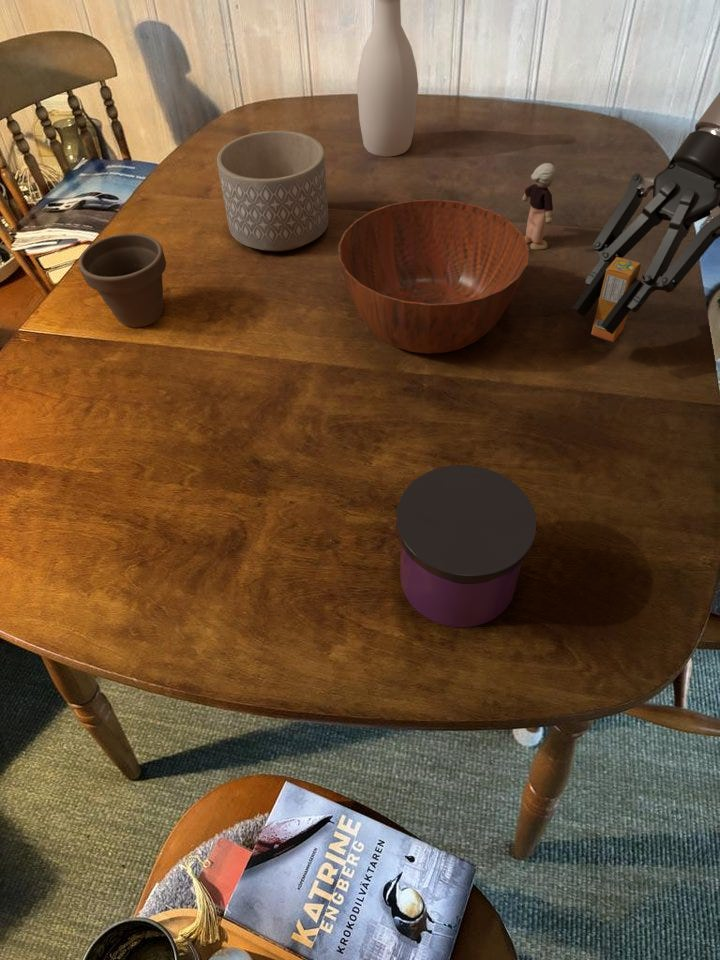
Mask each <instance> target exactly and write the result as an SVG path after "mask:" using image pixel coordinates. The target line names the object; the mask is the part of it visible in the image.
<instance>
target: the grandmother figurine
mask: <svg viewBox="0 0 720 960" xmlns="http://www.w3.org/2000/svg"><path fill="white" fill-rule="evenodd" d="M555 173H556V168H555V166H554V165H553V164H552V163H550V162H546V163H545V162H544V163H542V164H540V165H539V166H537V167H536V168H535V170H533V173H532V174H531V175H530V179H531V180H532V181H535V183H533V184H531V185H529V186H528V187H526V188H525V189H524V193H523V196H522V201H523V202H525V203H526V202H528V201H529V205H530V209H529V212H528V218H527V223H526V229H525V235H524V237H525V240H526V242H527V244H530V245H529V247H530V249H531V250H535V251H537V250H546V249H547V248H548V242H547V241H546V240H544V237H545V235H546V224H551V223H552V222H553V210H554V205H553V193H551V191H550V190H549V187H550V186H551V185H552V184H553V182H554V176H555Z"/></svg>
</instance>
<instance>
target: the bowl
mask: <svg viewBox="0 0 720 960" xmlns="http://www.w3.org/2000/svg"><path fill="white" fill-rule="evenodd" d="M524 236H525V235H524V234H523V233H522V232H521V231H520V230H519V229H518V227H517V226H516V225H515V224H514V223H513V222H511V221H510V220H508V219H507V218H505V217H503V216H502V215H500V214H499V213H497V212H494V211H492V210H489V209H488V208H485V207H482V206H479V205H475V204H471V203H467V202H463V201H457V200H448V199H435V198H434V199H433V198H432V199H413V200H412V199H411V200H406V201H402V202H396V203H390V204H387V205H385V206H382V207H379V208H376V209H374V210H371V211H369V212H367V213H365V214H364V215H363V216H361V217H359V218H358V219H355V220H354V221H353V222H352V223H351V224H350V225H349V227H347V228H346V230H345V231H343V233H342V236H341V238H340V240H339V243H338V245H337V247H338V250H337V251H338V262H339V266H340V269H341V273H342V276H343V279H344V282H345V285H346V288H347V291H348V293H349V295H350V298H351V300H352V302H353V303H354V306H355V308H356V309H357V311H358V313H359V315H360V317H361V319H362V320H363V322H364V323H365V325H366V326H367V327H368V328H369V329H370V330H371V331H372V332H373V333H374V334H375V335H376V336H377V337H378V338H379V339H381V340H382V341H384V342H385V343H388V344H389V345H391V346H393V347H395V348H398V349H400V350H405V351H407V352H410V353H417V354H426V355H431V354H432V355H433V354H446V353H449V352H454V351H458V350H461V349H464V348H465V347H468V346H470V345H472V344H474V343H476V342H478V341H479V340H480V339H481V338H482V337H483V336H486V334H487V333H488V332H490V331H491V330H492V329H493V328H494V327H495V325H496V324H497V323H498V321H499V320H500V319H501V317H502V316H503V314H504V312H505V311H506V310H507V307H508V306H509V304H510V303H511V301H512V300H513V298H514V296H515V294H516V292H517V290H518V288H519V285H520V283H521V282H522V279H523V277H524V274H525V272H526V270H527V267H528V263H529V257H530V256H529V255H530V248H529V246H528V243H527V242H526V240H525V237H524Z"/></svg>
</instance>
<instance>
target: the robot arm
mask: <svg viewBox="0 0 720 960" xmlns="http://www.w3.org/2000/svg"><path fill="white" fill-rule="evenodd" d="M651 191H652V199H650V200H649V202H648V203H647V204H646V205H644V206H643V209H642V211H641V213H640V214H639V215H638V216H637V217H636V218H635V219H634V220H633V221H631V219H632V218H633V216H634V215H635V213H636V212H637V210H638V209H639V207H640V206H641V204H642V201H643V199H644V198H647V197H648V195H649V193H650V192H651ZM705 218H707V219H705ZM703 219H705V224H704V225H703V226H702V227H701V228H700V229H699V230H698V232H696V233H695V235H694V236H693V238H692V239H691V240H690V241H689V243H688V244H687V245H686V246H685V247H684V248H683V250H682V251H681V252H680V253H679V255H677V257H676V258H675V259H674V257H675V255H676V253H677V251H678V249H679V248H680V245H681V244H682V241H683V239H685V238H686V237H687V236H688V234H689V232H690V230H691V228H692V226H693V224H694V223H696V222H698V221H701V220H703ZM630 221H631V223H630V224H629V222H630ZM663 221H668V222H669V225H668V228H667V230H666V232H665V234H664V237H663V239H662V240H661V243H660V244H659V246H658V248H657V250H656V252H655V254H654V256H653V258H652V260H651V261H650V263H649V266H648V267H647V269H646V271H645V273H644V275H643V274H641V276H640V278H641V280H640V279H638V278H637V279H636V278H635V279H634V280H633V282H632V283H631V285H630V286H629V287H628V289H627V290H626V291H625V293H624V294H623V295H622V297H621V298H620V299H619V301H618V302H617V303H616V305H615V306H614V308H613V309H612V310H611V312H610V313H609V314H608V316H607V317H606V318H605V320H604V321H603V322H602V324H601V326H602V327H603V328H604V329H605V330H606V331H608V332H609V333H611V334H613V333H614V331H615V330H616V329H617V327H618V326H619V325H620V323H621V322H622V321H623V319H624V318H625V317H626V315H627V316H628V315H629V313H630V311H631V312H632V313H634V314H635V313H637V312H639V311H640V310H641V308H642V306H644V304H645V302H646V301H647V300H648V299H649V297H650V296H651V295H652V294H653V292H655V291H665V292H666V293H671V292H673V291H675V289H677V287H678V285H679V284H680V283H681V282H682V281H683V280H684V278H685V277H686V276H687V274H688V273H689V272H690V271H691V270H692V268H693V267H694V266H695V265H696V264H697V262H698V261H699V260H700V259H701V258H702V256H703V255H704V254H705V253H706V252H707V250H708V249H709V248H710V247H711V246H712V244H713V243H715V241H716V240H718V239H719V238H720V91H719V92H718V94H717V95H716V97H714V99H713V100H712V102H711V103H710V105H709V106H708V107H707V108H706V110H705V111H704V113H703V114H702V116H701V117H700V118H699V120H698V121H697V122H696V123H695V125H694V131H692V132H689V133H688V135H687V136H686V138H685V139H684V141H683V142H682V143H681V145H680V146H679V148H678V149H677V150H676V151H675V152H674V154H673V156H672V157H671V159H670V162H669V163H668V165H667V166H666V167H665V168H664V169H662V171H660V172H659V173H657V174H656V176H652V177H651V176H648V177H645V176H643V177H642V175H641V174H640V173H637V172H636V173H633V175H632V176H631V177H630V180H629V183H628V187H627V191H626V192H625V194H624V196H623V197H622V199H621V200H620V202H619V204H618V205H617V207H616V208H615V210H614V211H613V213H612V214H611V216H610V217H609V219H608V221H607V222H606V224H605V225H603V227H602V229H601V231H600V232H599V234H598V235H597V237H596V238H595V240H594V242H593V244H592V248H593V249H594V250H595V252H596V253H597V254H598V257H599V259H598V261H597V263H596V264H595V265H594V267H593V268H592V270H591V271H590V273H589V274H588V275H587V276H586V278H585V282H584V283H585V284H586V286H587V287H586V288H585V289H584V291H583V292H582V294H581V295H580V296H579V298H578V299H577V301H576V302H575V303H574V305H573V307H572V309H573V310H574V311H575V312H576V313H577V314H578V315H579V316H581V317H583V318H585V317H586V316H587V315H588V313H589V312H590V310H591V309H592V307H593V306H594V305H595V303H596V302H597V300H599V298H600V294H601V290H602V286H603V281H604V277H605V273H606V269H607V268H608V267H609V265H610V264H611V263H612V262H613V261H614V260H615V258H616V257H620V258H624V257H625V256H626V255H627V254H628V253H629V252H630V251H631V250H632V249H634V247H635V246H636V245H637V244H638V243H639V242H640V241H641V240H642V239H643V238H644V237H645V236H646V235H647V234H649V232H650V231H651V230H652V229H653V228H654V227H657V226H659V225H660V224H661V223H662V222H663ZM628 224H629V225H628ZM627 225H628V226H627ZM673 259H674V261H673Z"/></svg>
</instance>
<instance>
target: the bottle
mask: <svg viewBox="0 0 720 960" xmlns="http://www.w3.org/2000/svg"><path fill="white" fill-rule="evenodd" d="M401 9H402V8H401V0H374V20H373V21H374V22H373V27H372V28H371V31H370V33H369V35H368V38H367V40H366V42H365V44H364V46H363V48H362V52H361V57H360V61H359V63H358V71H357V80H356V91H357V92H356V93H357V102H358V103H357V104H358V105H357V107H358V120H359V125H360V131H361V138H362V144H363V148H365V150H366V151H367V152H368V153H370V154H371V155H374V156H377V157H384V158H385V157H387V158H388V157H396V156H400V155H402V154H405V153H406V152H407V151H408V150H409V149H410V147H411V146H412V143H413V136H414V130H415V126H416V125H415V124H416V119H417V107H418V97H419V95H418V94H419V79H418V78H419V77H418V69H417V64H416V59H415V56H414V52H413V47H412V45H411V43H410V41H409V39H408V37H407V34H406V32H405V30H404V28H403V26H402V15H401V14H402V11H401Z"/></svg>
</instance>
